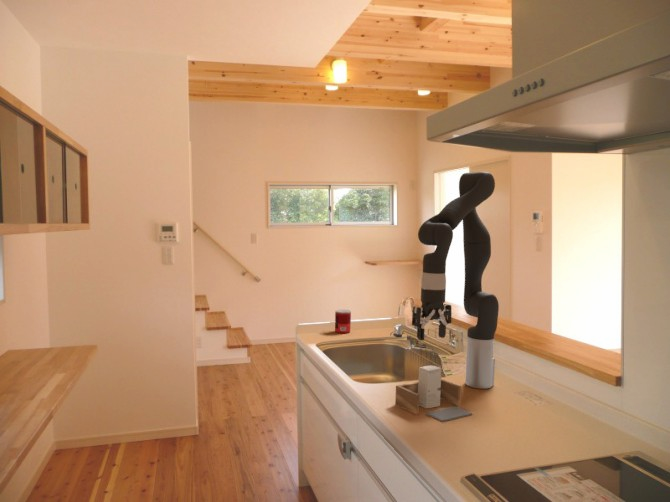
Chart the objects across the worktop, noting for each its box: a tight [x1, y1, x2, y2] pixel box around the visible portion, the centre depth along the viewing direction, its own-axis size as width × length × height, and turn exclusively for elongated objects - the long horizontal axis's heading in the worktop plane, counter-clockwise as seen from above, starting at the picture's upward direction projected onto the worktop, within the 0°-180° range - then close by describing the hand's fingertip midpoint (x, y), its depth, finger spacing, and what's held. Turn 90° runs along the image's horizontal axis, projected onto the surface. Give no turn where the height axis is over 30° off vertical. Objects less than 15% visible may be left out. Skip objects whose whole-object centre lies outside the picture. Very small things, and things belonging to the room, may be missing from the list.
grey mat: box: [425, 405, 473, 423], centre depth 161 cm, size 12×7×1 cm, turn 122°
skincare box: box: [417, 364, 442, 410], centre depth 168 cm, size 6×4×12 cm
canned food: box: [334, 309, 352, 335], centre depth 272 cm, size 8×8×11 cm
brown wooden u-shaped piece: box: [394, 378, 462, 416], centre depth 169 cm, size 18×10×6 cm, turn 122°
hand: (431, 338), depth 167 cm, fingers open, 8 cm apart
